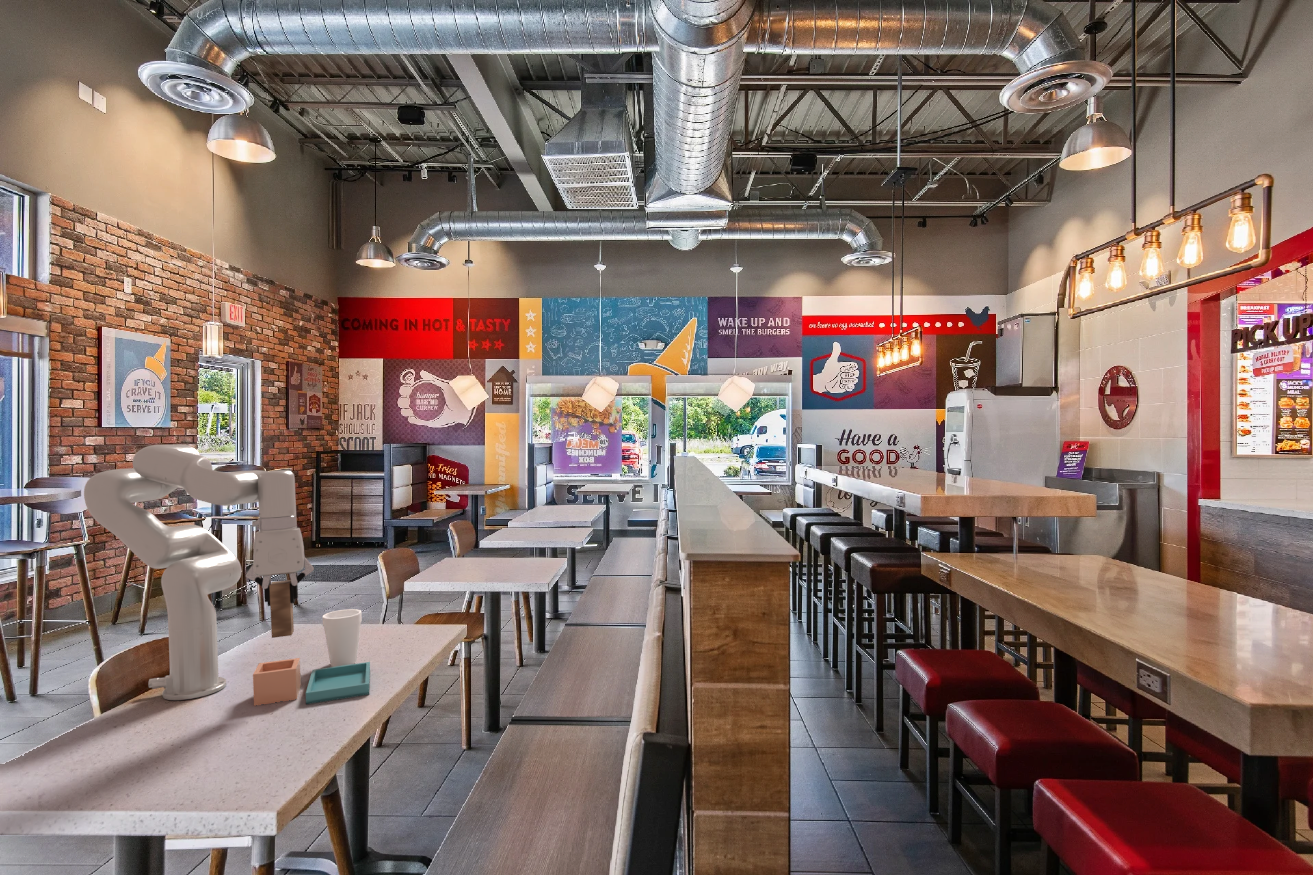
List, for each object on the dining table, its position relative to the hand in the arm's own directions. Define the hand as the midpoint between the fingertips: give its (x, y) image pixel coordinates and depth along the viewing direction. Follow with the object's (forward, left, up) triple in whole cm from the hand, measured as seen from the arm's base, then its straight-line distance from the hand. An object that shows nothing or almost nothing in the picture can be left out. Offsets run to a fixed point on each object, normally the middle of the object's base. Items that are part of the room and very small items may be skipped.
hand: (281, 602), depth 160 cm
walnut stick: (0, 0, -7) cm, 7 cm away
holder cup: (-1, 0, -21) cm, 22 cm away
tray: (+12, 0, -21) cm, 24 cm away
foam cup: (+12, +19, -22) cm, 31 cm away
